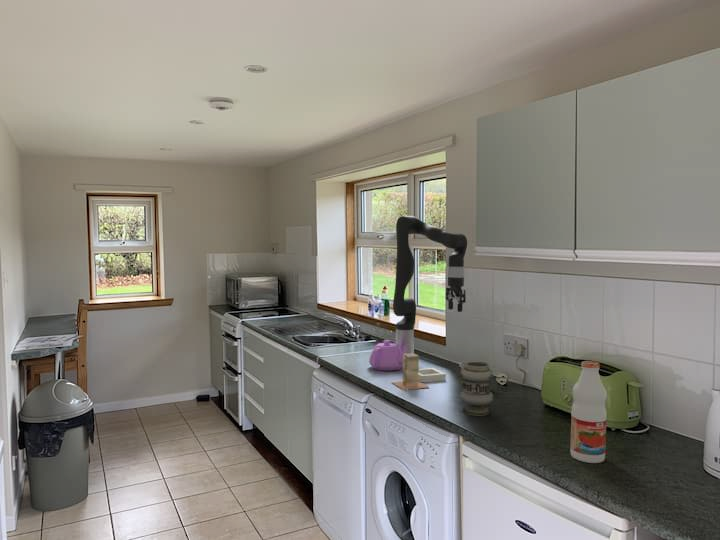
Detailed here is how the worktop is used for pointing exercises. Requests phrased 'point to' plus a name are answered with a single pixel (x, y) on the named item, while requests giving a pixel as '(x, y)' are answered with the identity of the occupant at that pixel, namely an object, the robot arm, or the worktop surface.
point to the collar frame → (430, 375)
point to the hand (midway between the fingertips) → (455, 310)
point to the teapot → (387, 356)
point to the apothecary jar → (476, 388)
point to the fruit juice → (589, 416)
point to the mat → (404, 387)
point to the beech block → (410, 369)
